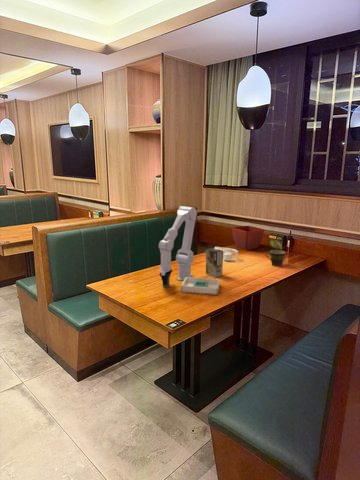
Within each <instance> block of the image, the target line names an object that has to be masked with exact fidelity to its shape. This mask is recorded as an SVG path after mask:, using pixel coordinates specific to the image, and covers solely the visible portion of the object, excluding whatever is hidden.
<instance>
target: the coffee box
mask: <svg viewBox="0 0 360 480" xmlns="http://www.w3.org/2000/svg"><path fill="white" fill-rule="evenodd" d="M223 256H224V252H223V250H218V249H215V248H213V247H211V248H208V249H206V250H205V274H206V275H209V276H212V277H215V278H218V277H221V276H222V275H223V266H224V265H223V261H224V260H223V259H224V257H223Z"/></svg>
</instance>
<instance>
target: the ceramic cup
mask: <svg viewBox="0 0 360 480" xmlns="http://www.w3.org/2000/svg"><path fill="white" fill-rule="evenodd" d="M267 254H268V255H269V256H270V257H269V256H268V255H267ZM265 255H266V257H267V258H268V259H269V260H270V263H271V266H273V267H275V268H276V267H279V268H280V267H282V266H283V265H284V264H283V263H284V260H285V255H286V251H284V250H280V249H272V250H270V251H269V252H268V251H267V252H266V253H265Z"/></svg>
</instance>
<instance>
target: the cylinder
mask: <svg viewBox="0 0 360 480" xmlns="http://www.w3.org/2000/svg"><path fill="white" fill-rule="evenodd" d="M170 277H171V275H169V277H168V283H167V285H163V284H162V288H170V286H171V285H170V282H171V281H170Z"/></svg>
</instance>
